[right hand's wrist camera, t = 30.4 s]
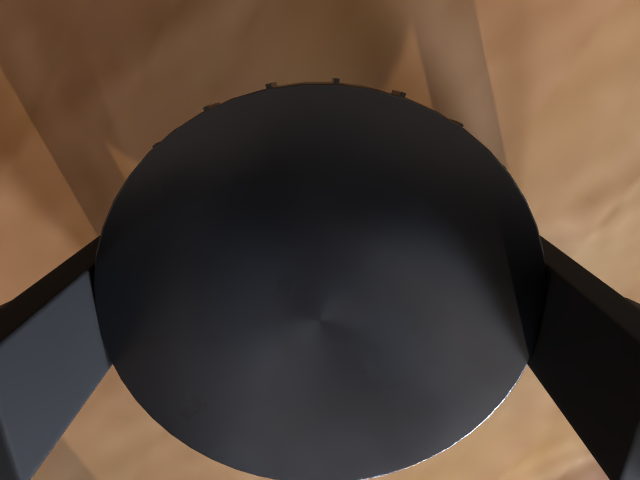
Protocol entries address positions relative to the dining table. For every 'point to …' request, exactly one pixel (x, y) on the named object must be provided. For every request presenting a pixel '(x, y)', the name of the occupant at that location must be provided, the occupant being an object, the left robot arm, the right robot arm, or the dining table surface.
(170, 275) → the lid
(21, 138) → the dining table surface
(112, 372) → the dining table surface
